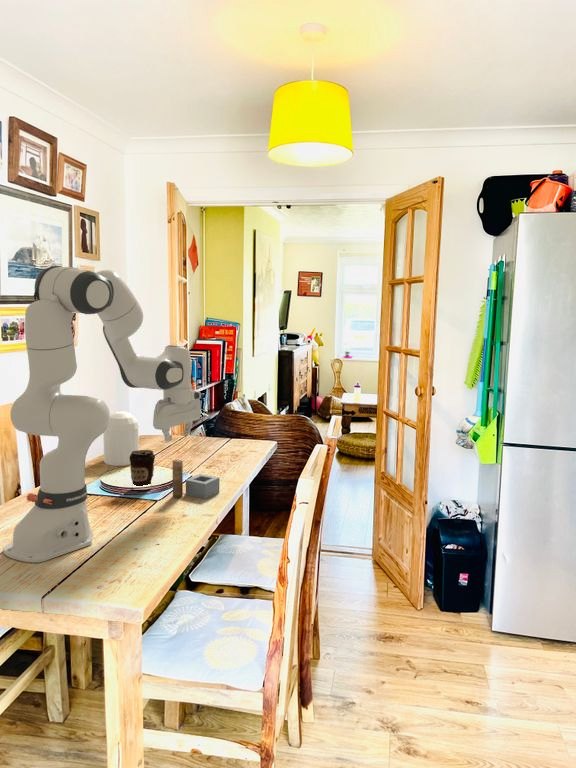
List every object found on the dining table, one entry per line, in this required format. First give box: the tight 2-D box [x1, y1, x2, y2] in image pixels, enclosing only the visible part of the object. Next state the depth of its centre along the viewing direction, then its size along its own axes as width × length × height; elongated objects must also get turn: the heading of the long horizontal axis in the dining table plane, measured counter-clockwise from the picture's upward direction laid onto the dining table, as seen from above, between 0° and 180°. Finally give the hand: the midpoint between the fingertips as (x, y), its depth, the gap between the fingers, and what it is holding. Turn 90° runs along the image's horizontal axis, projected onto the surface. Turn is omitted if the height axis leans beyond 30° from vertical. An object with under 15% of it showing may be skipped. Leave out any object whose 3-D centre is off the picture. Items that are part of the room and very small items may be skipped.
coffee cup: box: [130, 449, 156, 486], centre depth 197 cm, size 9×8×13 cm
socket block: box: [185, 473, 220, 499], centre depth 195 cm, size 8×8×5 cm
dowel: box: [172, 459, 184, 499], centre depth 190 cm, size 3×3×12 cm
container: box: [103, 410, 140, 467], centre depth 229 cm, size 14×13×20 cm
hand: (177, 437), depth 188 cm, fingers open, 8 cm apart
